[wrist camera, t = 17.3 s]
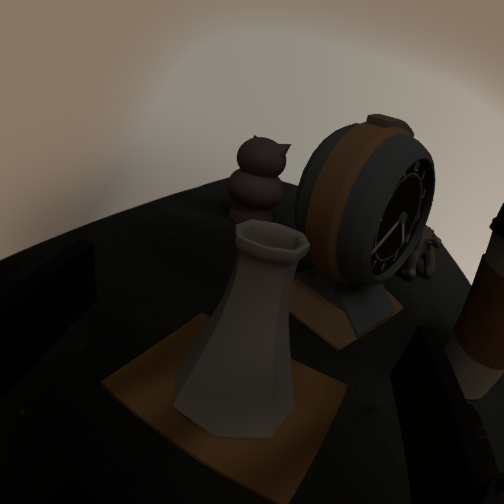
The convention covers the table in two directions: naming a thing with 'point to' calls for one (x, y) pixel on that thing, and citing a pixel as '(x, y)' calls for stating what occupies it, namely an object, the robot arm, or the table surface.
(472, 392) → the coffee cup
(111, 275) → the table surface
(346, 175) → the alarm clock
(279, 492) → the wooden board
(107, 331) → the table surface
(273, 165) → the cat figurine
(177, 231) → the table surface
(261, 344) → the flask
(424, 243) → the gray elephant figurine
